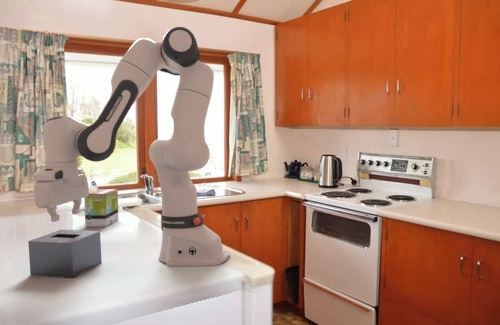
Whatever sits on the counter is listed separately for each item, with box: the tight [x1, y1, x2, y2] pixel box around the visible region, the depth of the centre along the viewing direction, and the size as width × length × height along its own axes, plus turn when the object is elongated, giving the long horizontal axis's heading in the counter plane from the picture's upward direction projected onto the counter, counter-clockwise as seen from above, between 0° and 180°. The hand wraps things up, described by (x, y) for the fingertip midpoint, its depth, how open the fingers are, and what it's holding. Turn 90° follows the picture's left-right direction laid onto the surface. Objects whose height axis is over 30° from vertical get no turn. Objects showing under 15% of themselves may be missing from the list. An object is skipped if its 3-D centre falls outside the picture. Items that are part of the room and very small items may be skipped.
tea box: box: [83, 188, 119, 228], centre depth 187 cm, size 15×10×15 cm
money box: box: [27, 229, 102, 279], centre depth 125 cm, size 14×14×10 cm
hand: (66, 217), depth 124 cm, fingers open, 8 cm apart
